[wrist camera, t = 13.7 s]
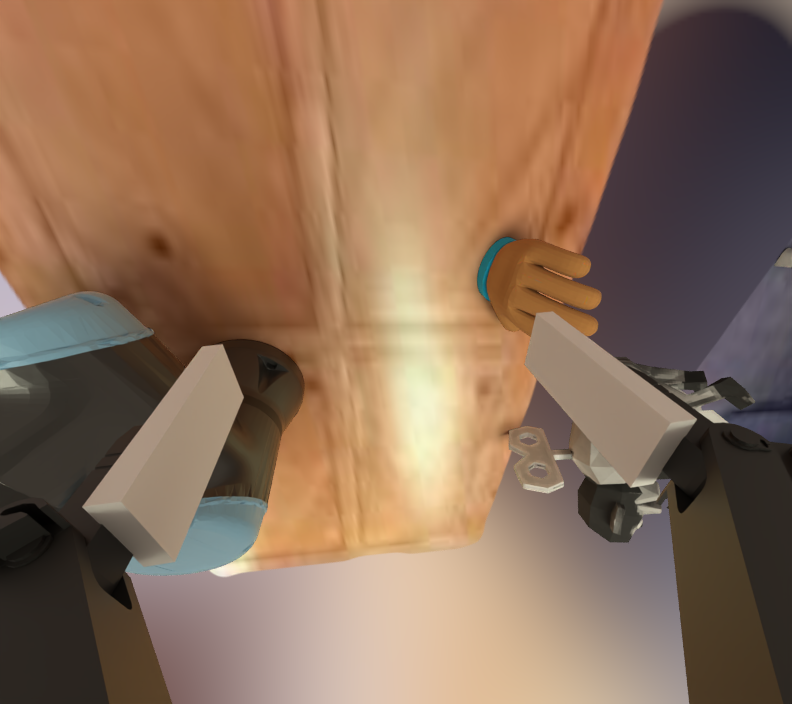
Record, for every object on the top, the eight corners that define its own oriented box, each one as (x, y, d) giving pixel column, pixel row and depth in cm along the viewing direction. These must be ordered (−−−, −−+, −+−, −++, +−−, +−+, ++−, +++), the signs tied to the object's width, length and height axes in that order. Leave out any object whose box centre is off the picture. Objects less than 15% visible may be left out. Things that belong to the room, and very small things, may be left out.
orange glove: (505, 320, 45) (568, 384, 32) (462, 313, 43) (510, 377, 31) (544, 236, 39) (638, 274, 27) (495, 224, 37) (571, 258, 25)
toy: (705, 368, 56) (649, 514, 61) (527, 332, 61) (490, 469, 66) (849, 402, 35) (747, 619, 40) (560, 343, 40) (503, 541, 45)
